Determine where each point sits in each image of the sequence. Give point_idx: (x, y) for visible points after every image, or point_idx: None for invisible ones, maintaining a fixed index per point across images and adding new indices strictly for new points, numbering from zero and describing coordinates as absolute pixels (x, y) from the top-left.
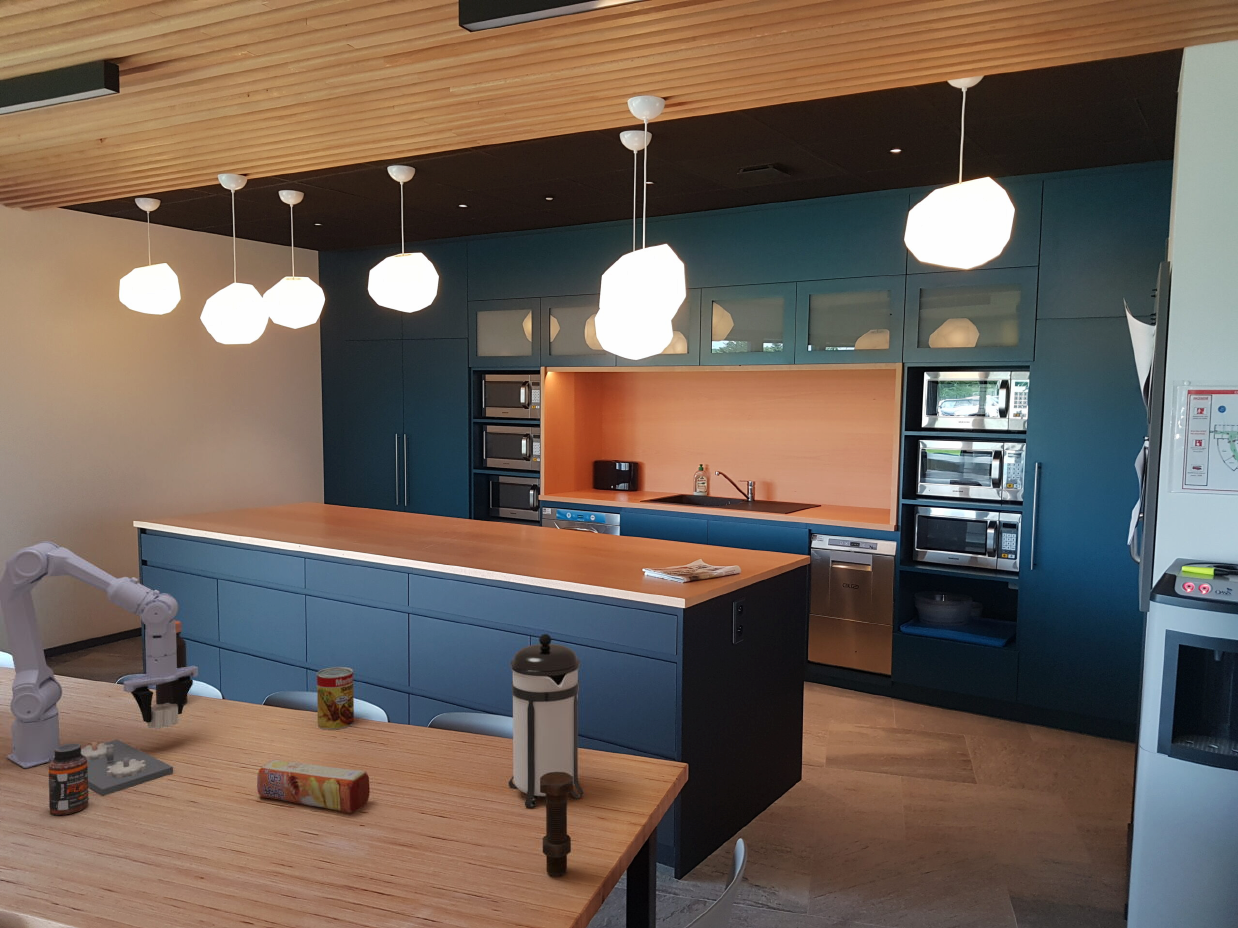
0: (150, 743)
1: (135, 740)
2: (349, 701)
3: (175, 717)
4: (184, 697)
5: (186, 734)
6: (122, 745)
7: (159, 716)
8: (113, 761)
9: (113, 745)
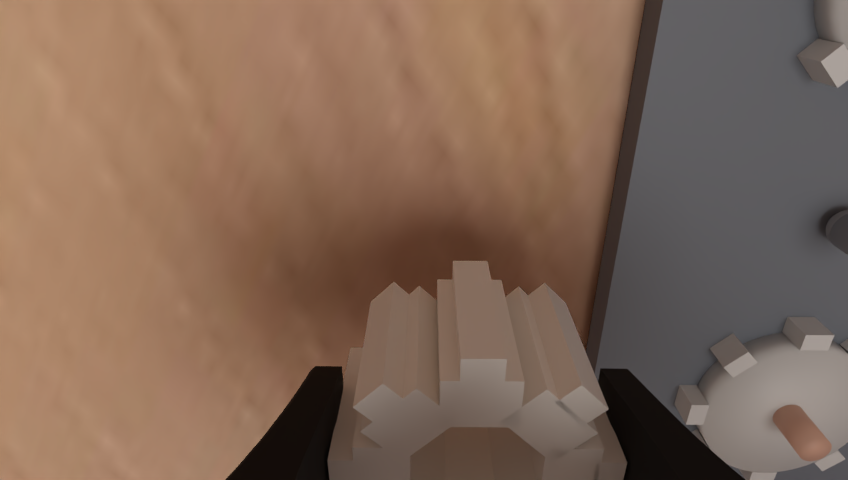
0: None
1: None
2: None
3: (398, 323)
4: (249, 477)
5: (265, 358)
6: None
7: (570, 351)
8: (814, 223)
9: None
